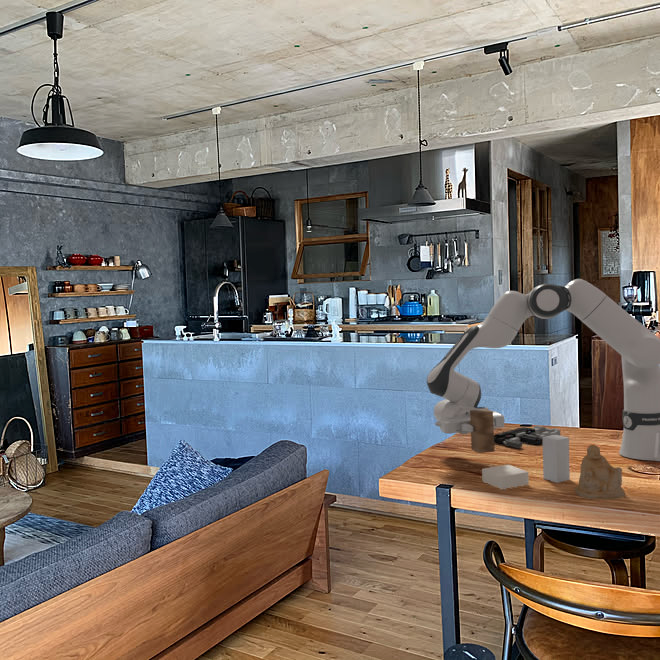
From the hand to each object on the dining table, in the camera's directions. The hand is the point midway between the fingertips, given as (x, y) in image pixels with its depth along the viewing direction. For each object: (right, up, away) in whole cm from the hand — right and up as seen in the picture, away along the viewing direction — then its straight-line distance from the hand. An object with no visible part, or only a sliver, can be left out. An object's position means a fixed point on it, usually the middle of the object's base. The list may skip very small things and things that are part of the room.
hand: (483, 427), depth 199 cm
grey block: (+18, -13, -10) cm, 25 cm away
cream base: (+3, -14, -12) cm, 19 cm away
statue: (+25, -14, -24) cm, 37 cm away
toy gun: (+21, -11, +35) cm, 43 cm away
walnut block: (0, -7, +1) cm, 7 cm away
